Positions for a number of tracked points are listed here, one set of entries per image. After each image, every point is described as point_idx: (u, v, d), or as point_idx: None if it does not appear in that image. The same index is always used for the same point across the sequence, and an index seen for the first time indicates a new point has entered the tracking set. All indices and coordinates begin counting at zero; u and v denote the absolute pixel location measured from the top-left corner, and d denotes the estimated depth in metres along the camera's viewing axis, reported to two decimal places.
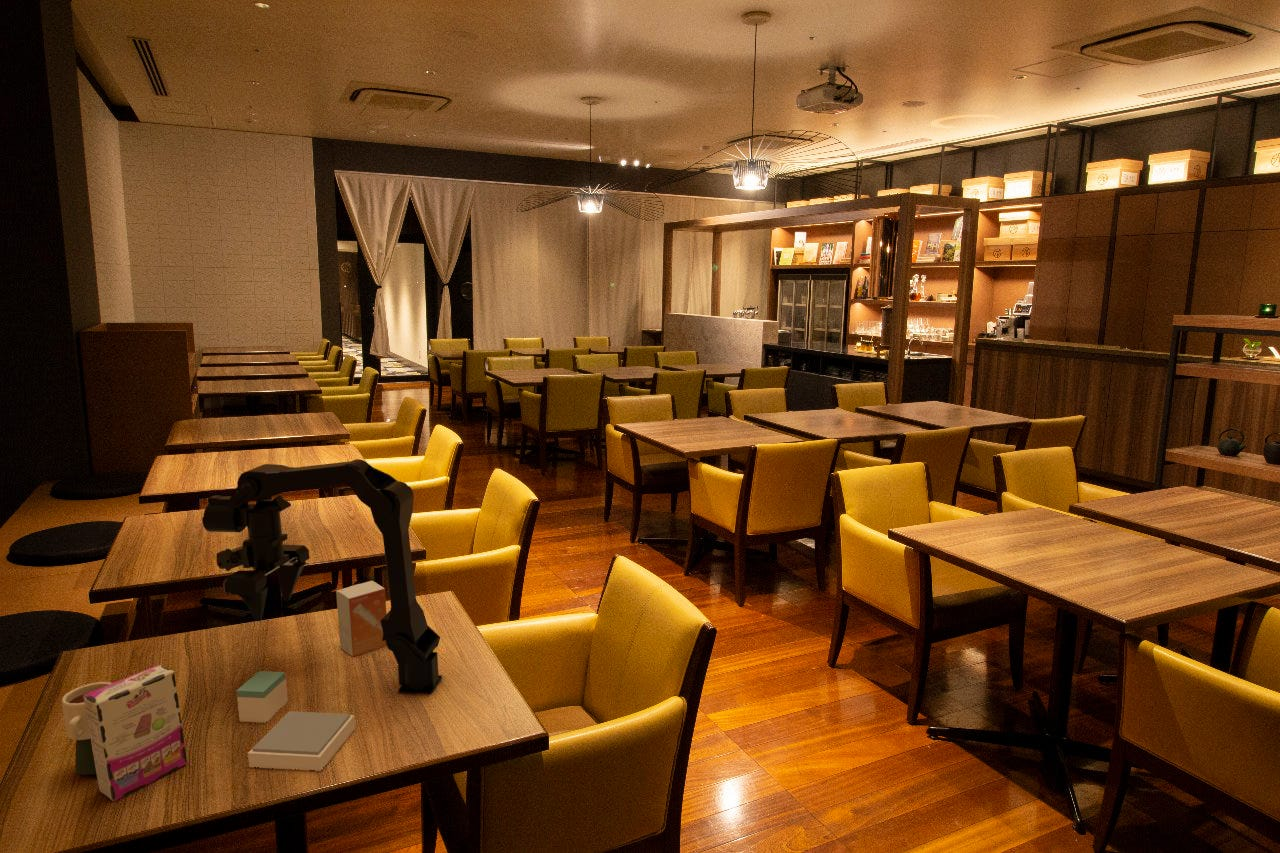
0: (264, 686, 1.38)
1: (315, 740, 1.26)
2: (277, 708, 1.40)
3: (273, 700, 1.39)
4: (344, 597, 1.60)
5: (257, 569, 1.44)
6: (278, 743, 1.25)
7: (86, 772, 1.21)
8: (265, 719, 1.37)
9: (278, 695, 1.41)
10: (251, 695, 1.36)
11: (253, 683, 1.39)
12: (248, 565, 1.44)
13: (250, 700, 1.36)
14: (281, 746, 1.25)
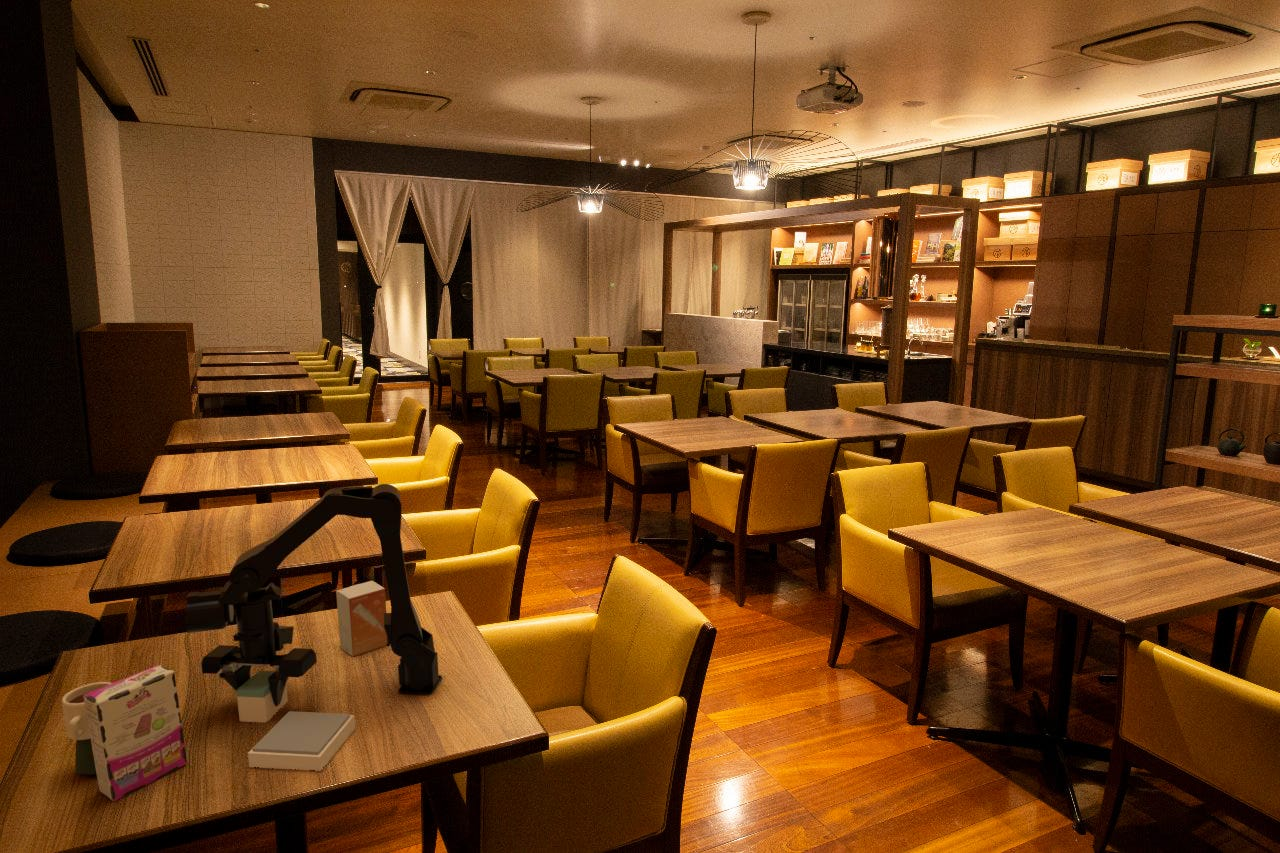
0: (264, 685, 1.38)
1: (315, 740, 1.26)
2: (277, 707, 1.40)
3: None
4: (344, 597, 1.60)
5: None
6: (278, 743, 1.25)
7: (86, 772, 1.21)
8: (264, 719, 1.37)
9: None
10: (251, 694, 1.36)
11: (253, 682, 1.39)
12: None
13: (250, 699, 1.36)
14: (281, 746, 1.25)
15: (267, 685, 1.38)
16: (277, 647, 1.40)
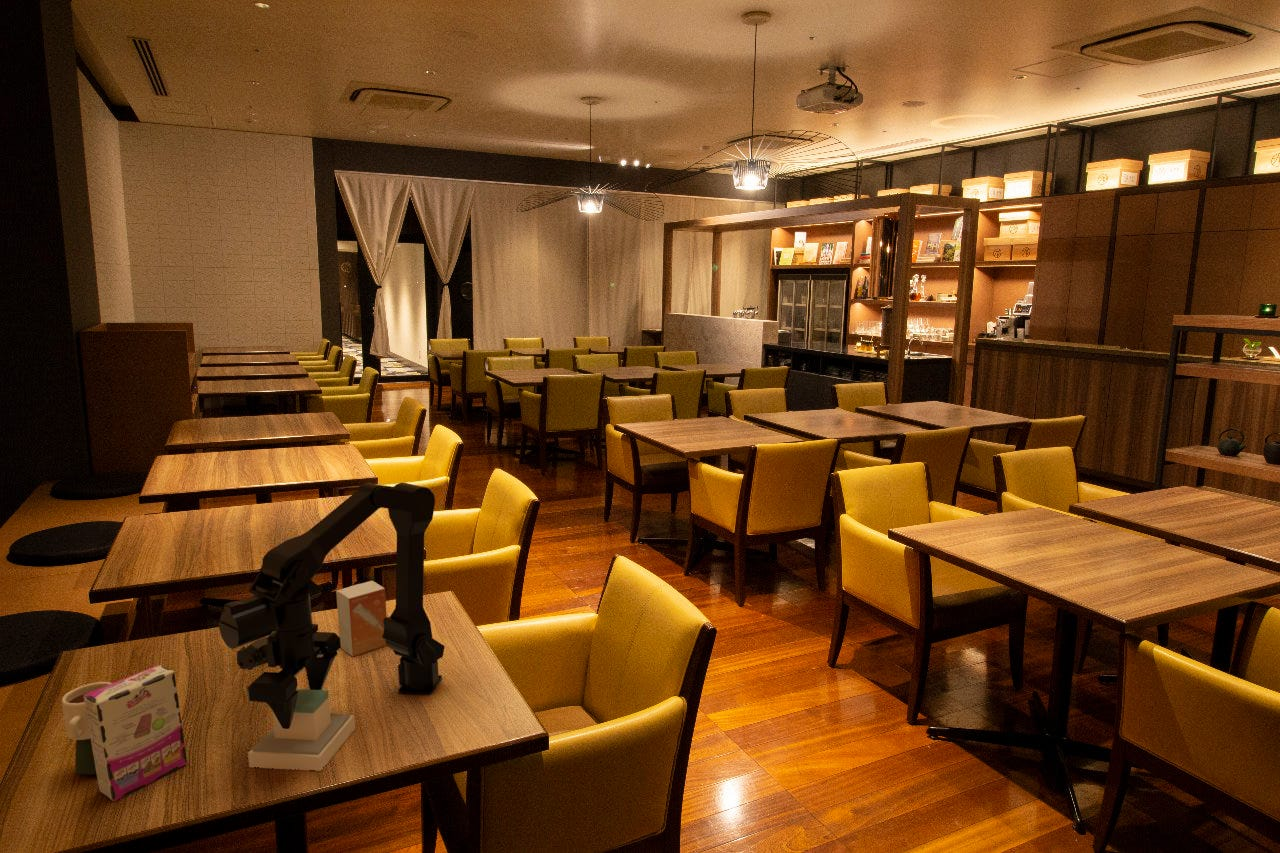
0: (315, 692, 1.29)
1: (315, 740, 1.26)
2: None
3: None
4: (344, 597, 1.60)
5: (285, 669, 1.23)
6: (278, 743, 1.25)
7: (86, 772, 1.21)
8: (329, 720, 1.31)
9: None
10: (321, 702, 1.28)
11: (301, 700, 1.27)
12: (274, 664, 1.24)
13: (321, 708, 1.28)
14: (281, 746, 1.25)
15: (315, 691, 1.30)
16: None
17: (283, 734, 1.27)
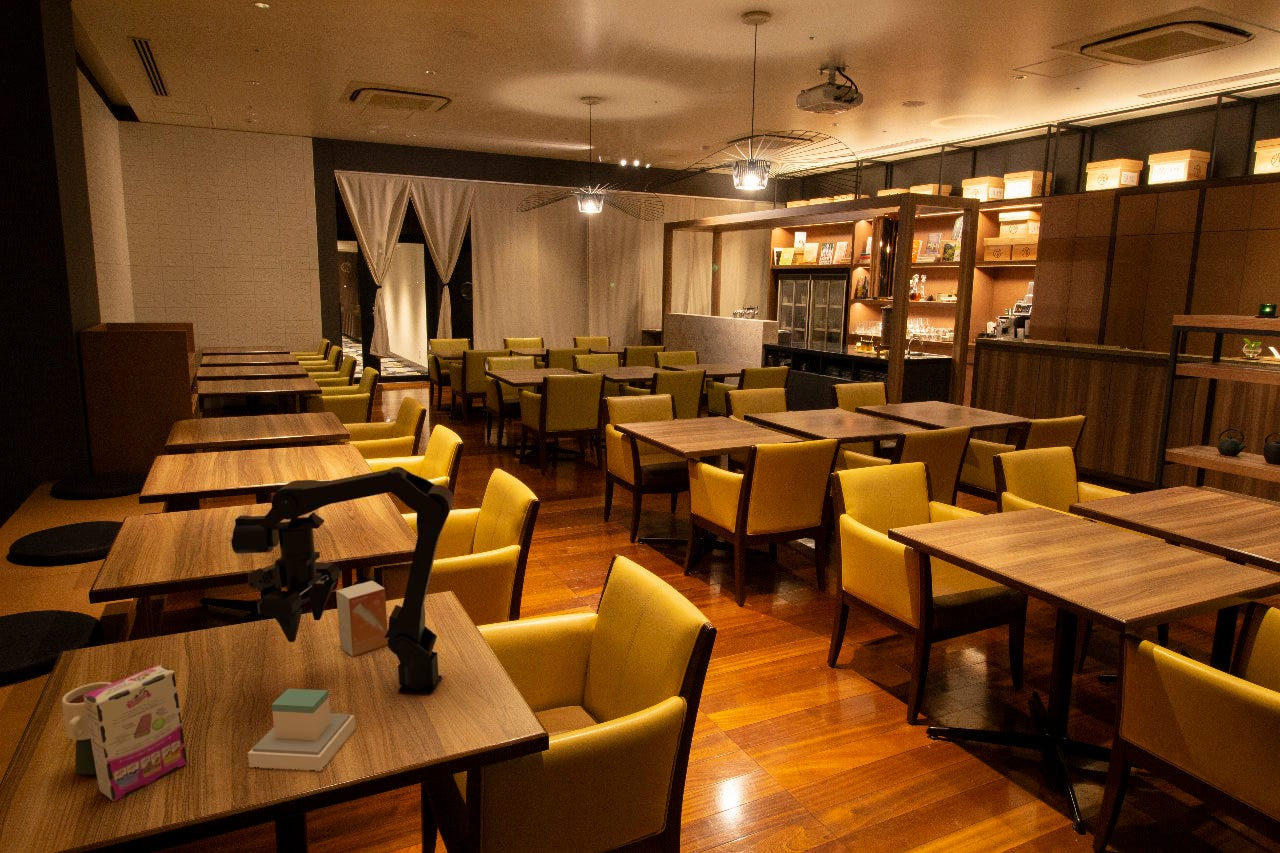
0: (315, 692, 1.29)
1: (315, 740, 1.26)
2: None
3: None
4: (344, 597, 1.60)
5: (290, 589, 1.40)
6: (278, 743, 1.25)
7: (86, 772, 1.21)
8: (329, 720, 1.31)
9: None
10: (321, 702, 1.28)
11: (301, 700, 1.27)
12: (281, 585, 1.40)
13: (321, 708, 1.28)
14: (281, 746, 1.25)
15: (315, 691, 1.30)
16: None
17: (283, 734, 1.27)
